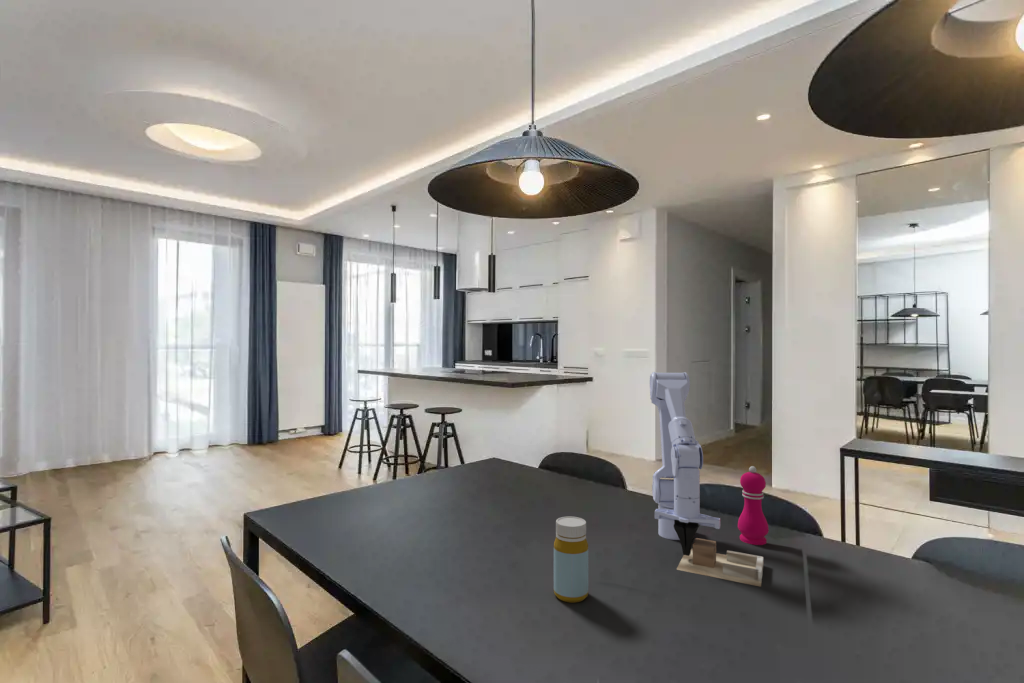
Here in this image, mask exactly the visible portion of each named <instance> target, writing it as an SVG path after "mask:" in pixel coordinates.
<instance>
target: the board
mask: <svg viewBox="0 0 1024 683" xmlns="http://www.w3.org/2000/svg"><path fill="white" fill-rule="evenodd" d="M764 564H765V563H764V556H761V555H756V554H751V553H750V554H749V553H744V552H739V551H733V550H726V554H723V553H717V552H716V563H715V566H714V568H711V567H706V566H700V565H695V564H693V548H691V553H690V555H689V556H687V555H683V554H682V558H681V559H680V561H679V563H678V566H677V567H676V570H677V571H681V572H687V573H692V574H696V575H702V576H705V577H711V578H717V579H719V580H720V579H721V580H725V581H730V582H735V583H740V584H745V585H751V586H756V587H760V588H761V587H762V583H763V582H762V581H763V580H762V579H763V571H764Z"/></svg>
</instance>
